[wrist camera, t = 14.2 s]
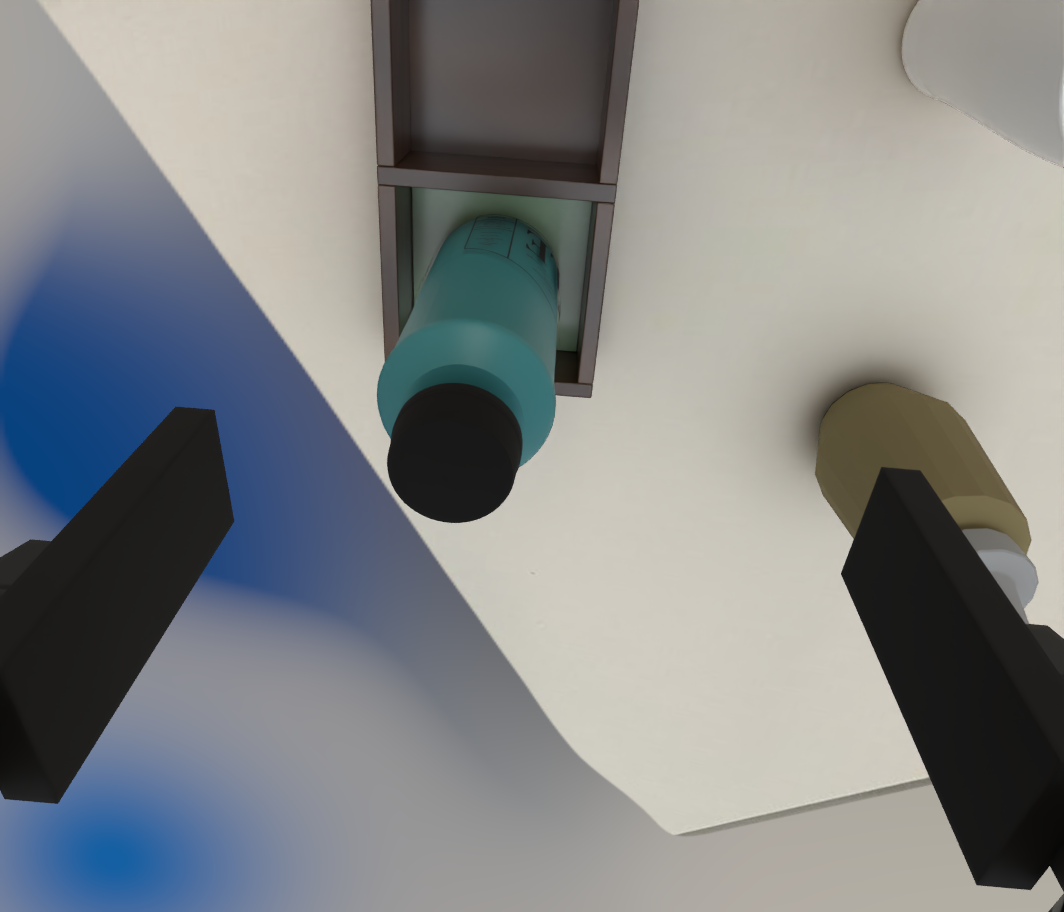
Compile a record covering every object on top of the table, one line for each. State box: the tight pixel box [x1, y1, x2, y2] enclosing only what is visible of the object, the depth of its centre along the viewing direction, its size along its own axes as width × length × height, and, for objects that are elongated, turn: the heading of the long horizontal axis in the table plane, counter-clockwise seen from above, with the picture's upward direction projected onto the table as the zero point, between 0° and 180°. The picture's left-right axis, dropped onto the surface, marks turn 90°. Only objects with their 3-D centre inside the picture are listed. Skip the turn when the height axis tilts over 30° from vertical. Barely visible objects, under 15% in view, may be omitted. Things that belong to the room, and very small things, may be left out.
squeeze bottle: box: [815, 383, 1038, 624], centre depth 37 cm, size 8×8×18 cm
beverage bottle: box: [377, 214, 561, 523], centre depth 31 cm, size 6×7×20 cm
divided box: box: [371, 0, 639, 398], centre depth 36 cm, size 20×11×5 cm, turn 176°
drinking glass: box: [902, 0, 1064, 168], centre depth 28 cm, size 7×7×15 cm
